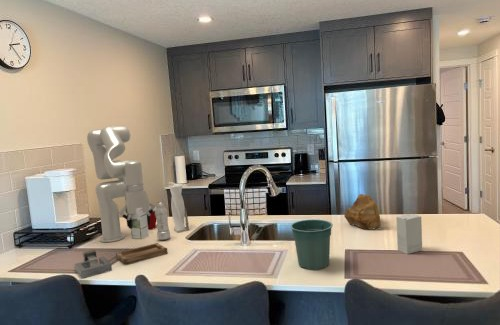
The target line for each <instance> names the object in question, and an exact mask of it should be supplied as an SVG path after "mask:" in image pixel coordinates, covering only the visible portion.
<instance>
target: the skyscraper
mask: <svg viewBox="0 0 500 325" xmlns="http://www.w3.org/2000/svg"><path fill="white" fill-rule="evenodd" d="M170 184H173V185H170ZM168 187H169V190H170V194H171V199H170V200H171V201H170V203H171V204H170V205H171V208H170V209H171V215H172V220H173V223H174V228H173V230H174V232H176V233H183V232H188V231H190V226H189V220H188V219H189V218H188V212H187V208H185V202H184V198H183V195H182V191H183V184H182V183H175V182H168Z"/></svg>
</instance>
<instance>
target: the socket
mask: <svg viewBox="0 0 500 325" xmlns="http://www.w3.org/2000/svg"><path fill="white" fill-rule="evenodd" d="M98 260H99V262H98V263H99V264H98V265H97V266H93V267H91V266H90V263H89V261H84V260H83V261H80V262H77V263H74V268H75V273H77V274H78V276H79V277H80V278H81V279H85V278H89V277H92V276H97V275H99V274H103V273H107V272H110V271H112V270H113V268H112V262H110V261H109V260H108V259H107V258H106V257H105V256H100V257H98Z"/></svg>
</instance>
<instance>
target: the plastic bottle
mask: <svg viewBox="0 0 500 325" xmlns="http://www.w3.org/2000/svg"><path fill="white" fill-rule="evenodd" d="M156 206H157V209H156V211H155V215H156V227H157V231H156V232H157V233H156V236H157V239H159V241H166V240H168V239H169V240H170V237H171V231H170V228H169V222H168V221H169V220H168V218H169V216H168V214H169V213H168V212H169V211H168V208H166V207H165V201H158V202H156Z"/></svg>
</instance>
